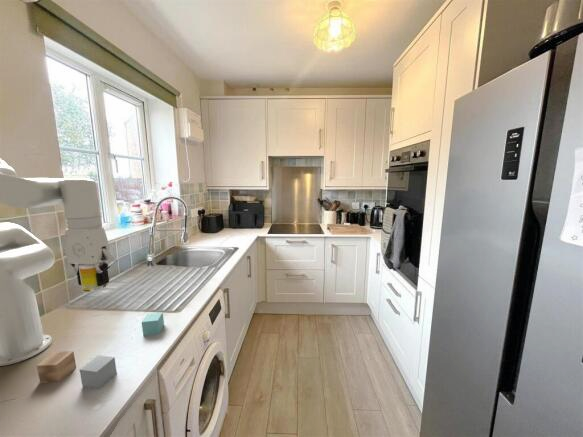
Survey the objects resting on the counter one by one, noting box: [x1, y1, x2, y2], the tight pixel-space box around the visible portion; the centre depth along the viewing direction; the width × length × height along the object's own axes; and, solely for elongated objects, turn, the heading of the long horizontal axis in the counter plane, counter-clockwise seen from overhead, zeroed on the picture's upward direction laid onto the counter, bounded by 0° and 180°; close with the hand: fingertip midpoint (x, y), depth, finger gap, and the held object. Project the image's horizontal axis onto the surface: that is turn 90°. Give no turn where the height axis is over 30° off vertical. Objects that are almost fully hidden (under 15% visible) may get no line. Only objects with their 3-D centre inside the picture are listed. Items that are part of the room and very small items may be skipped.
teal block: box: [141, 312, 165, 337], centre depth 83 cm, size 5×5×5 cm
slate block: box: [79, 354, 117, 390], centre depth 62 cm, size 5×5×5 cm
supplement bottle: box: [79, 263, 108, 294], centre depth 70 cm, size 6×6×10 cm
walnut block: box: [36, 350, 77, 383], centre depth 65 cm, size 5×5×5 cm
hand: (94, 283), depth 70 cm, fingers closed on supplement bottle, 5 cm apart
